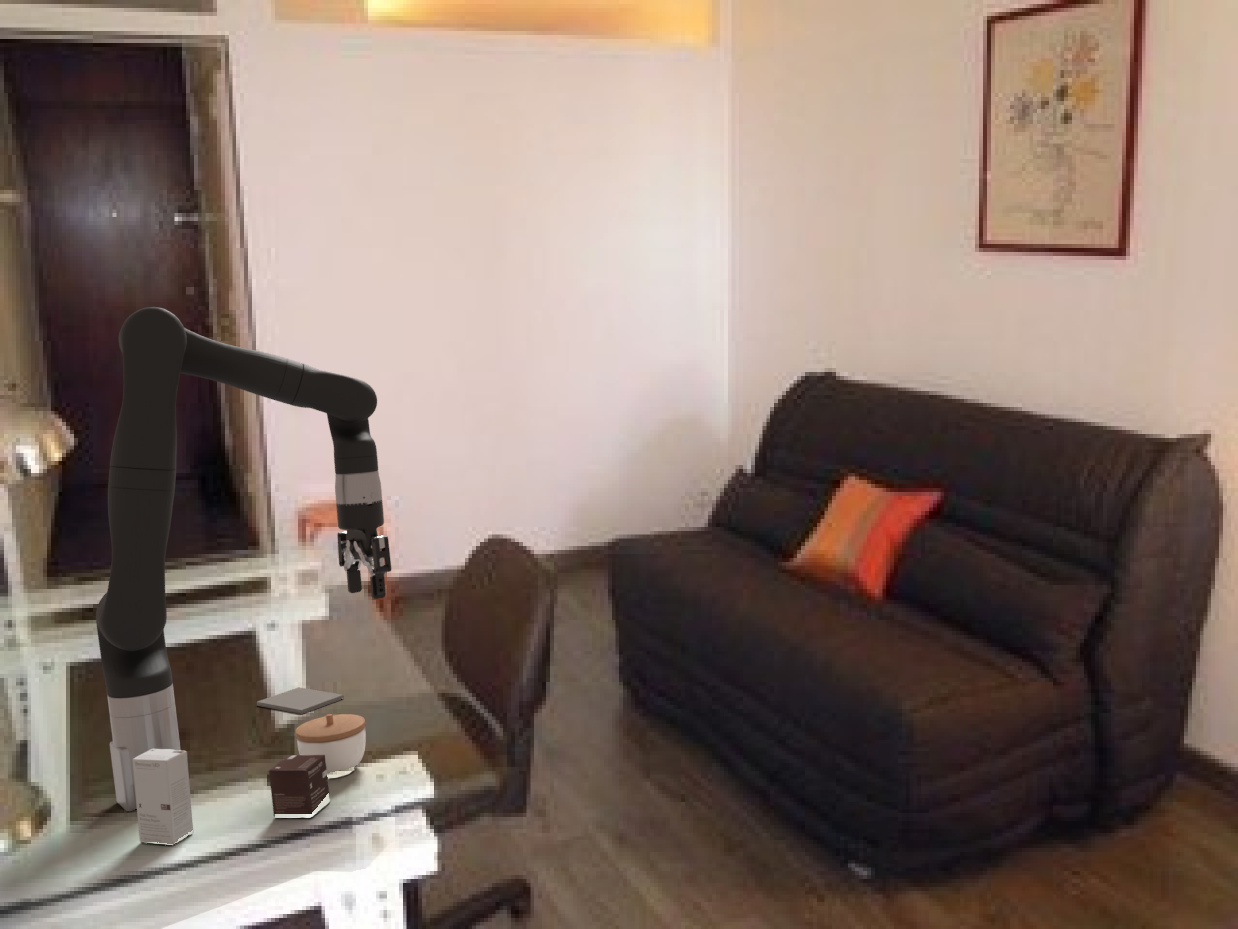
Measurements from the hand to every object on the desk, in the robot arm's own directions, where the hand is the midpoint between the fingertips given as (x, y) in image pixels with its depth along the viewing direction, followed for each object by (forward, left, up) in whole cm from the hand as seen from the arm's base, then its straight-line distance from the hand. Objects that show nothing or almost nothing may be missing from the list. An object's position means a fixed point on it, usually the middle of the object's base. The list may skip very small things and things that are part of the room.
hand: (366, 595), depth 178 cm
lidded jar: (-11, -6, -26) cm, 29 cm away
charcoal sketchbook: (+1, +37, -26) cm, 45 cm away
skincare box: (-38, -11, -26) cm, 48 cm away
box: (-21, -17, -26) cm, 38 cm away
